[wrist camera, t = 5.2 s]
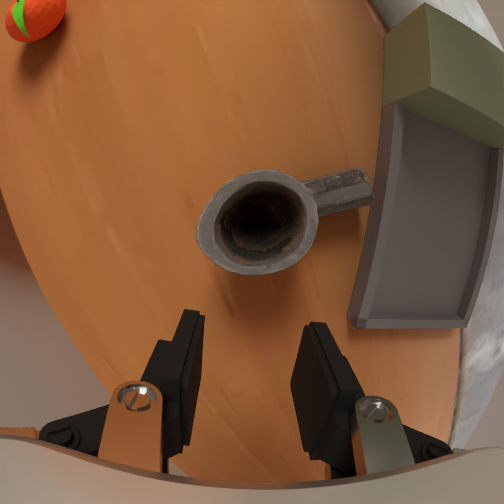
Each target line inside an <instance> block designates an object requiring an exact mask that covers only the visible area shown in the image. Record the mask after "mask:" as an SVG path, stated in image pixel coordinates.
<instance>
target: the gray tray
mask: <svg viewBox="0 0 504 504" xmlns="http://www.w3.org/2000/svg"><path fill="white" fill-rule="evenodd" d="M503 153H504V52H503V51H501V50H500V49H499V48H497V47H496V46H495V45H493V44H492V43H491V42H489V41H488V40H486V39H485V38H484V37H482V36H481V35H479V34H478V33H476V32H475V31H473V30H472V29H470V28H469V27H467V26H466V25H464V24H462V23H461V22H459V21H457V20H456V19H454V18H452V17H451V16H449V15H447V14H445V13H444V12H442V11H440V10H438V9H436V8H434V7H433V6H431V5H429V4H427V3H423V4H422V5H421V6H420V7H418V8H417V9H416V10H415V11H413V12H412V13H411V14H410V15H409V16H407V17H406V18H405V19H404V20H402V21H401V22H400V23H399V24H398V25H397V26H395V27H394V28H393V29H392V30H391V31H389V32H388V33H387V34H386V35H385V36H384V79H383V100H382V115H381V127H380V138H379V148H378V157H377V165H376V173H375V180H374V187H373V201H372V203H371V206H370V212H369V218H368V223H367V229H366V234H365V239H364V244H363V249H362V254H361V259H360V263H359V268H358V272H357V277H356V281H355V285H354V289H353V293H352V297H351V301H350V305H349V309H348V313H347V317H348V319H349V320H350V321H351V323H352V324H353V326H354V327H355V328H369V329H444V328H466V327H467V325H468V322H469V319H470V317H471V314H472V311H473V308H474V305H475V302H476V299H477V296H478V293H479V290H480V286H481V283H482V280H483V276H484V272H485V269H486V265H487V261H488V257H489V253H490V248H491V244H492V239H493V234H494V229H495V224H496V218H497V212H498V206H499V198H500V190H501V181H502V170H503Z"/></svg>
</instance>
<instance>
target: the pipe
mask: <svg viewBox="0 0 504 504" xmlns="http://www.w3.org/2000/svg"><path fill="white" fill-rule="evenodd" d="M372 201H373V191H372V187H371V184H370V182H369V179H368V177H367V175H366V173H365V172H364V171H363V170H362V169H361V168H355V169H350V170H346V171H342V172H338V173H335V174H331V175H327V176H324V177H320V178H317V179H313V180H309V181H306V182H303V183H301V182H300V181H298V180H297V179H296V178H294V177H292V176H291V175H289V174H287V173H285V172H281V171H277V170H268V169H264V170H255V171H251V172H248V173H244V174H242V175H239V176H237V177H235V178H233V179H231V180H230V181H229V182H227V183H226V184H224V185H223V186H222V187H221V188H220V189H219V190H218V191H217V192H216V193H215V195H214V196H213V197H212V198H211V200H210V201H209V203H208V205H207V206H206V208H205V209H204V211H203V213H202V214H201V216H200V218H199V220H198V224H197V229H196V240H197V243H198V245H199V247H200V248H201V250H202V251H203V252H204V254H205V255H206V256H207V257H208V258H209V259H210V260H211V261H212V262H213V263H214V264H216V265H217V266H219V267H221V268H223V269H225V270H227V271H231V272H234V273H238V274H243V275H267V274H274V273H277V272H280V271H282V270H285V269H287V268H289V267H291V266H293V265H294V264H296V263H297V262H298V261H300V260H301V259H302V258H303V257H304V256H305V254H306V253H307V252H308V251H309V249H310V248H311V246H312V244H313V242H314V240H315V237H316V233H317V230H318V221H319V217H320V216H324V215H328V214H333V213H337V212H342V211H346V210H350V209H354V208H359V207H364V206H368V205H370V204H371V203H372Z"/></svg>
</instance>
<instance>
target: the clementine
mask: <svg viewBox="0 0 504 504" xmlns="http://www.w3.org/2000/svg"><path fill="white" fill-rule="evenodd" d="M65 10H66V0H14V1H13V2H12V4H11V6H10V8H9V10H8V12H7V15H6V29H7V31H8V33H9V35H10V36H11V37H12V38H13V39H15V40H17V41H20V42H32V41H36V40H39V39H41V38H43V37H45V36H46V35H48V34H49V33H50V32H52V31H53V30H54V29H55V28H56V27H57V25H58V24H59V23H60V22H61V20H62V18H63V16H64V13H65Z"/></svg>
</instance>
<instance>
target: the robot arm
mask: <svg viewBox="0 0 504 504" xmlns="http://www.w3.org/2000/svg"><path fill="white" fill-rule="evenodd" d="M204 320H205V316H204V315H199V311H195V310H187V309H184V311H183V314H182V317H181V319H180V322H179V324H178V327H177V329H176V332H175V335H174V337H173V340H172V341H165V340H158V342H157V344H156V346H155V348H154V351H153V353H152V355H151V357H150V359H149V362H148V364H147V366H146V368H145V371H144V373H143V375H142V378H141V380H140V381H129V382H125V383H123V384H121V385H119V386H118V387H117V388H115V389H114V391H113V393H112V396H111V400H110V404H108V405H106V406H103V407H99V408H96V409H93V410H90V411H86V412H83V413H80V414H76V415H73V416H70V417H67V418H62V419H59V420H55V421H52V422H50V423H48V424H46V425H45V426H44V427H43V428H42V429H41V431H36V429H35V428H34V427H23V428H0V504H504V448H502V447H483V448H475V449H470V450H464V449H458V448H454V449H453V450H451V448H450V447H449V446H448V445H447V444H446V443H445V442H443V441H441V440H439V439H436V438H434V437H431V436H429V435H427V434H424V433H422V432H419V431H417V430H415V429H412V428H410V427H408V426H406V425H403V424H402V422H401V419H400V417H399V414H398V411H397V409H396V407H395V406H394V405H393V404H392V403H391V402H390V401H388V400H386V399H385V398H382V397H378V396H365V394H364V392H363V390H362V388H361V386H360V384H359V382H358V380H357V378H356V376H355V374H354V372H353V370H352V368H351V366H350V364H349V362H348V360H347V358H346V357H345V356H343V355H342V354H341V352H340V350H339V348H338V346H337V344H336V342H335V340H334V338H333V336H332V334H331V332H330V330H329V328H328V326H327V324H326V323H322V322H310V324H309V325H305V327H304V330H303V334H302V338H301V342H300V346H299V350H298V354H297V358H296V362H295V366H294V370H293V374H292V378H291V392H292V397H293V402H294V406H295V411H296V416H297V421H298V426H299V430H300V435H301V440H302V445H303V449H304V452H309V456H310V460H322V461H323V462H325V480H321V481H309V482H289V483H250V482H230V481H217V480H207V479H198V478H191V477H183V476H177V475H171V474H169V458H170V457H172V456H174V455H176V454H178V453H181V454H182V451H183V445H185V446H189V445H190V440H191V434H192V427H193V421H194V416H195V410H196V404H197V398H198V392H199V387H200V381H201V371H202V352H203V336H204Z"/></svg>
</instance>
